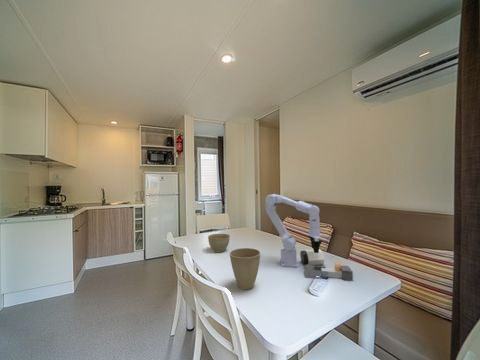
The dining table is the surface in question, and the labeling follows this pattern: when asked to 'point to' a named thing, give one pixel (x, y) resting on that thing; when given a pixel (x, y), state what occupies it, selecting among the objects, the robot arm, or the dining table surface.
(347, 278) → the dark gray rectangular block
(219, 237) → the planter bowl
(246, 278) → the plant pot
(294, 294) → the dining table surface
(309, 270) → the sleeve
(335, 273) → the slab with tan knob
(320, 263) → the jar
